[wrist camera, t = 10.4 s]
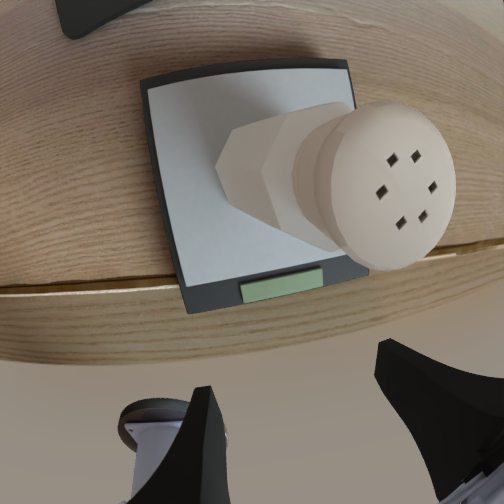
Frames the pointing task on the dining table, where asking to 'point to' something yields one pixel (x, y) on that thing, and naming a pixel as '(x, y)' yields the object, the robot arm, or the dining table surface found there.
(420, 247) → the pepper shaker
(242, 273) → the scale
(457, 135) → the dining table surface
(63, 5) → the phone
